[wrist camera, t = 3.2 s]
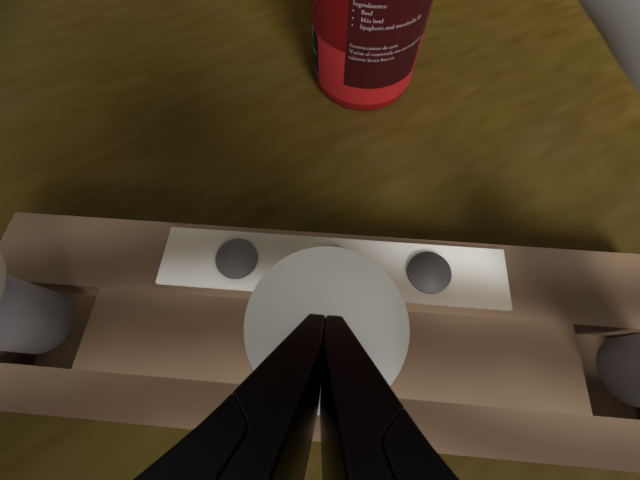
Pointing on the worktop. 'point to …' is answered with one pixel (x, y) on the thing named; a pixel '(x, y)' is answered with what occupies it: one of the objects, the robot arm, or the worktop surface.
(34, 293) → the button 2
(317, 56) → the canned food
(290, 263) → the middle button
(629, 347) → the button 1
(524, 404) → the console
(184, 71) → the worktop surface
